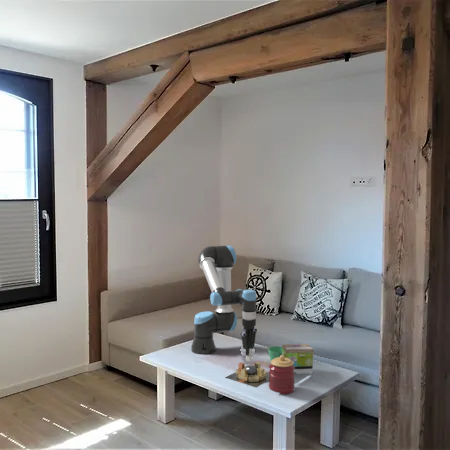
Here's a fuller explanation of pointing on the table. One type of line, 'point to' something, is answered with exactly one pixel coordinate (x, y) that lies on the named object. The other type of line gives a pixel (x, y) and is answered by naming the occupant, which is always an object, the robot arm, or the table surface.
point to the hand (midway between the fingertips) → (248, 360)
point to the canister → (281, 375)
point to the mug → (275, 352)
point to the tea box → (299, 357)
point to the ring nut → (243, 375)
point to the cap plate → (233, 377)
